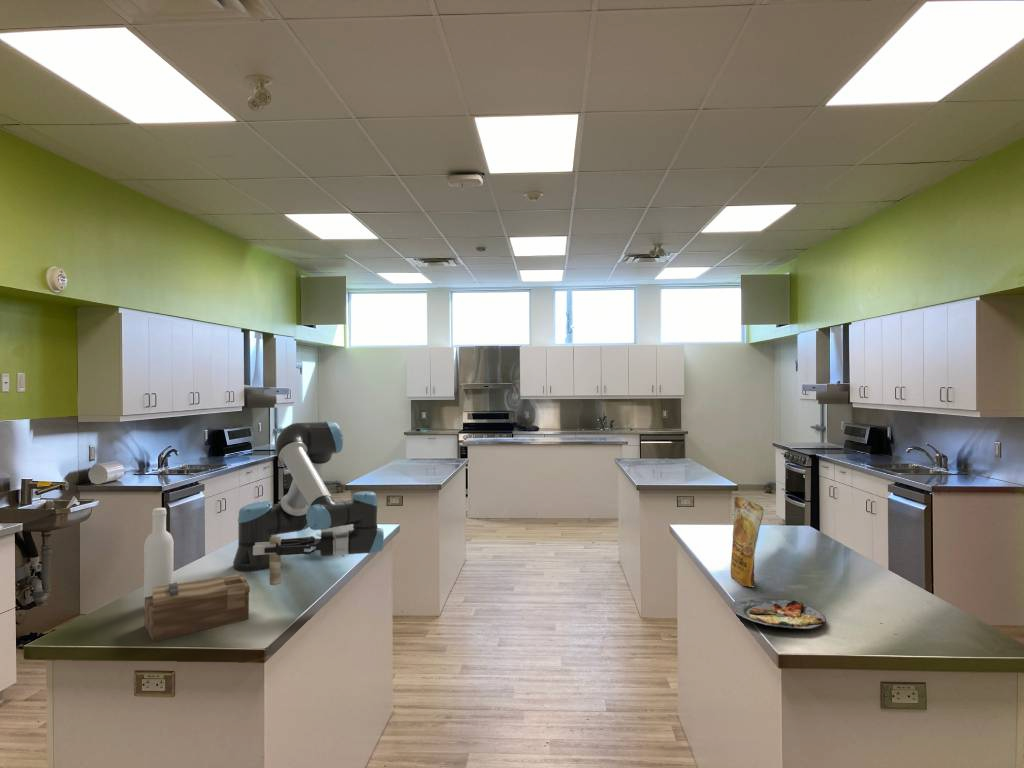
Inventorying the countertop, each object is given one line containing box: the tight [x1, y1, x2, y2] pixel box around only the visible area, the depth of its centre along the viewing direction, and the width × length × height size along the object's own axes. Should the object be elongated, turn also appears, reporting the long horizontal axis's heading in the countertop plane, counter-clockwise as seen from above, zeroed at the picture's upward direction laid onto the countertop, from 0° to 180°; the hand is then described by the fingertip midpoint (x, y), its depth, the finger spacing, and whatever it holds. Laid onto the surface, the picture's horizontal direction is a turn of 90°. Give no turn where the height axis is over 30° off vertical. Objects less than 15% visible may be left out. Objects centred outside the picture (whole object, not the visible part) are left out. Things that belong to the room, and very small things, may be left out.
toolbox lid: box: [153, 573, 251, 608], centre depth 171 cm, size 14×24×3 cm, turn 122°
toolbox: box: [143, 592, 250, 642], centre depth 169 cm, size 14×24×8 cm, turn 130°
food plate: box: [731, 596, 827, 630], centre depth 172 cm, size 25×23×4 cm
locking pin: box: [269, 536, 282, 586], centre depth 183 cm, size 3×3×14 cm
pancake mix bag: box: [730, 496, 764, 588], centre depth 206 cm, size 7×19×28 cm, turn 0°
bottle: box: [143, 507, 175, 610], centre depth 182 cm, size 8×8×30 cm
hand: (254, 548), depth 181 cm, fingers closed on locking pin, 3 cm apart
